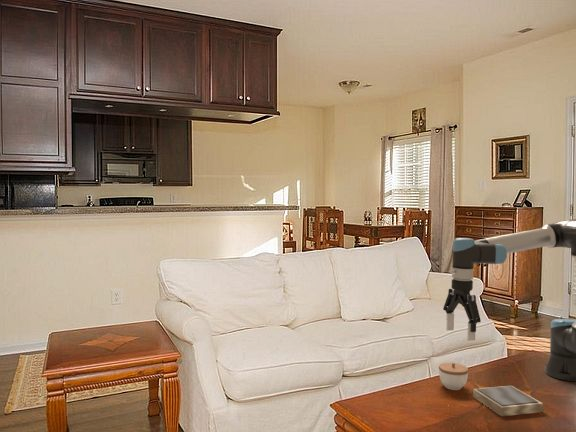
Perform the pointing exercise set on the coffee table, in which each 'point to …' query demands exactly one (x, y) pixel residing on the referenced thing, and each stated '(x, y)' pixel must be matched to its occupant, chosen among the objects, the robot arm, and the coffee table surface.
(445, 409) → the coffee table surface
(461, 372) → the lidded jar
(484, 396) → the stand
